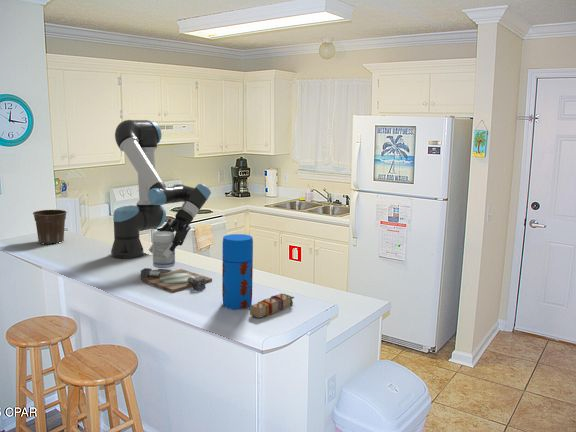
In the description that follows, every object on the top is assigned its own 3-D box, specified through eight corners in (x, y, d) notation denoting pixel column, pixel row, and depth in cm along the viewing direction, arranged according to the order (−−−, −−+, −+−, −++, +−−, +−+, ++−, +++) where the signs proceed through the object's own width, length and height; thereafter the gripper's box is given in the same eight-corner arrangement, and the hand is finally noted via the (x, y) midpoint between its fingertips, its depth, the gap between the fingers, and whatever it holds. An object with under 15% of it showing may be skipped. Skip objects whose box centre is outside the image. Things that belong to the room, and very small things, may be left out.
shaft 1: (160, 278, 217) (160, 269, 216) (156, 281, 213) (156, 272, 212) (145, 277, 218) (144, 268, 217) (140, 280, 214) (140, 270, 214)
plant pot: (75, 240, 279) (73, 211, 277) (51, 247, 265) (50, 215, 262) (51, 237, 285) (49, 208, 282) (27, 243, 270) (25, 213, 267)
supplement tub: (178, 267, 227) (178, 234, 224) (157, 270, 222) (156, 236, 219) (170, 261, 235) (170, 230, 232) (149, 264, 230) (149, 232, 227)
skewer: (261, 321, 174) (261, 306, 174) (247, 316, 179) (247, 302, 178) (300, 305, 190) (300, 292, 189) (287, 301, 194) (287, 288, 193)
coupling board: (142, 281, 212) (142, 278, 212) (181, 271, 228) (181, 268, 227) (172, 292, 200) (172, 288, 200) (212, 281, 215) (212, 277, 215)
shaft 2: (186, 286, 207) (185, 277, 207) (193, 284, 210) (193, 275, 210) (197, 290, 203) (197, 280, 202) (205, 288, 206) (205, 278, 205)
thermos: (218, 301, 192) (219, 235, 187) (246, 297, 196) (247, 233, 192) (227, 311, 182) (227, 241, 178) (256, 307, 186) (257, 239, 182)
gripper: (207, 222, 230) (179, 264, 221) (175, 215, 244) (147, 253, 235) (198, 212, 225) (168, 254, 216) (166, 205, 239) (137, 244, 230)
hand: (157, 254), depth 225 cm, fingers closed on supplement tub, 9 cm apart
